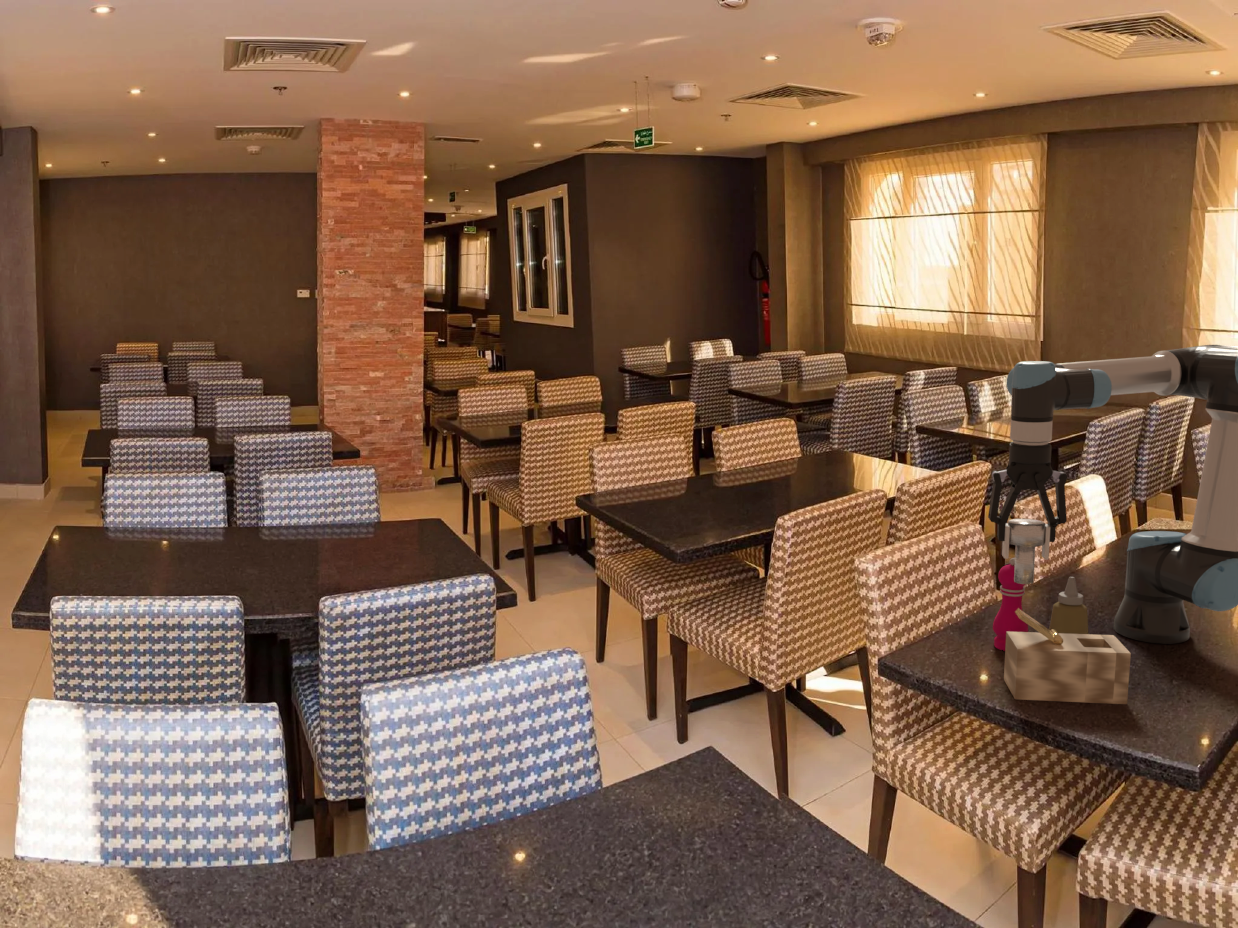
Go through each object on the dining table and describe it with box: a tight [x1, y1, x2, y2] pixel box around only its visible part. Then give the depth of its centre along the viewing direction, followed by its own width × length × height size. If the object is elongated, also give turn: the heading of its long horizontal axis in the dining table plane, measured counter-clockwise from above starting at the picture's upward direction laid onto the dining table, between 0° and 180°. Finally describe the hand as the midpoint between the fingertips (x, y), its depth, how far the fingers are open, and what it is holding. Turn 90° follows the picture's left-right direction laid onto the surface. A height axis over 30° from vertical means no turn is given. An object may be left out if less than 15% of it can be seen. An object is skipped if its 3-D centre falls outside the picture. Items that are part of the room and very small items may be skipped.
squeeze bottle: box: [1048, 576, 1089, 634], centre depth 211 cm, size 8×8×18 cm
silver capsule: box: [1007, 518, 1046, 585], centre depth 201 cm, size 7×7×12 cm
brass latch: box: [1015, 608, 1063, 645], centre depth 196 cm, size 9×4×2 cm
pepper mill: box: [992, 557, 1029, 652], centre depth 220 cm, size 7×7×20 cm
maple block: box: [1003, 631, 1132, 705], centre depth 196 cm, size 20×10×10 cm, turn 81°
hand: (1025, 556), depth 201 cm, fingers closed on silver capsule, 7 cm apart
